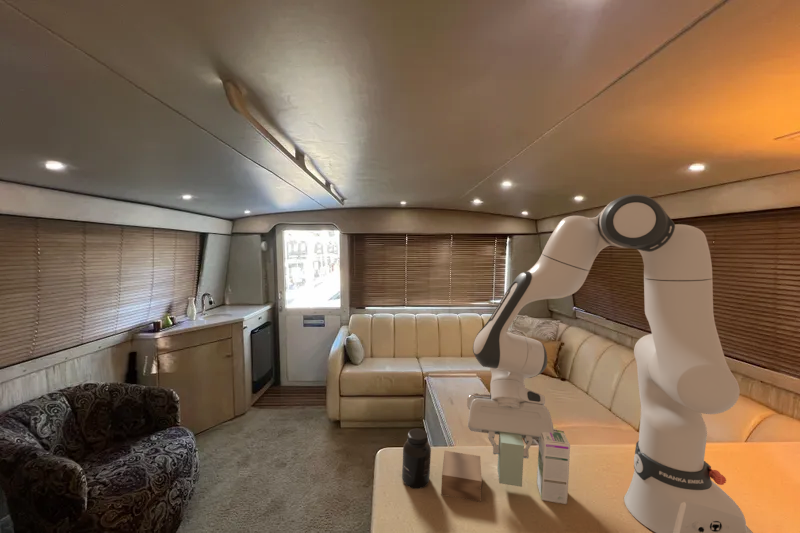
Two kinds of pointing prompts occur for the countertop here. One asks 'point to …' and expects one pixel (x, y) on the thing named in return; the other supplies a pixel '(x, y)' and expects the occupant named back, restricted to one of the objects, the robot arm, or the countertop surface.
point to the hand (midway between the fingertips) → (510, 455)
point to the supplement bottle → (416, 459)
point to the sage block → (510, 459)
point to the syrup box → (553, 466)
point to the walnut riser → (461, 476)
